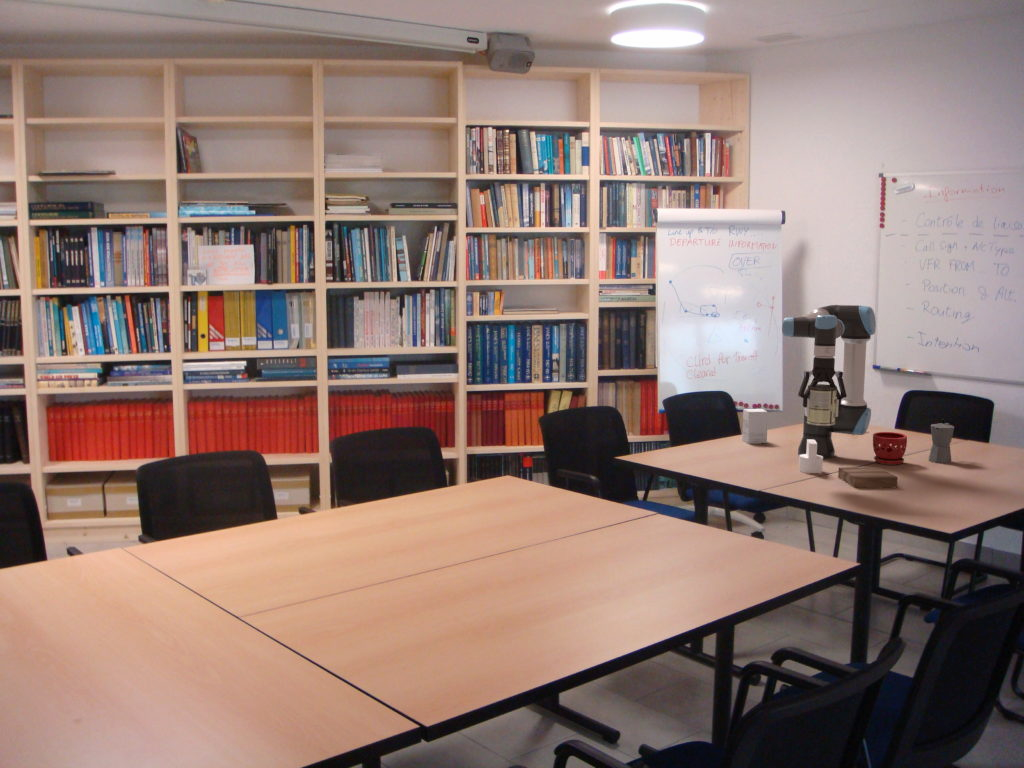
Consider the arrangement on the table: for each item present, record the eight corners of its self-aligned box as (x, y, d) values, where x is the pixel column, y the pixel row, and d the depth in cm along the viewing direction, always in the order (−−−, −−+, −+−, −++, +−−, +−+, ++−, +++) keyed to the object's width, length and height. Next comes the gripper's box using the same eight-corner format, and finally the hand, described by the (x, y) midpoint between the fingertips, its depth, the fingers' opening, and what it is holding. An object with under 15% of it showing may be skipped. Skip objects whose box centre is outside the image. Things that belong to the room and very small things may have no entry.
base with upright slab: (823, 474, 366) (825, 444, 364) (799, 473, 368) (801, 443, 366) (820, 469, 375) (822, 439, 373) (797, 468, 377) (799, 438, 375)
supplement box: (760, 440, 434) (762, 408, 432) (767, 443, 425) (768, 411, 423) (741, 440, 434) (742, 408, 432) (747, 444, 425) (749, 411, 423)
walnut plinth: (838, 477, 361) (838, 467, 360) (879, 477, 361) (879, 467, 360) (854, 487, 345) (854, 477, 344) (896, 487, 345) (897, 477, 345)
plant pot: (870, 458, 396) (872, 430, 395) (904, 460, 392) (906, 432, 390) (871, 464, 384) (873, 436, 382) (906, 467, 380) (908, 438, 378)
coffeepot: (946, 465, 384) (949, 422, 381) (922, 462, 390) (925, 419, 388) (958, 459, 395) (962, 417, 392) (935, 456, 401) (938, 415, 399)
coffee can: (803, 420, 355) (805, 383, 353) (831, 421, 354) (833, 384, 352) (809, 425, 345) (810, 387, 343) (837, 426, 344) (839, 388, 342)
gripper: (796, 357, 342) (793, 417, 345) (858, 358, 342) (855, 417, 345) (790, 355, 350) (788, 414, 353) (851, 355, 350) (847, 414, 353)
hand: (821, 416), depth 349 cm, fingers closed on coffee can, 10 cm apart
